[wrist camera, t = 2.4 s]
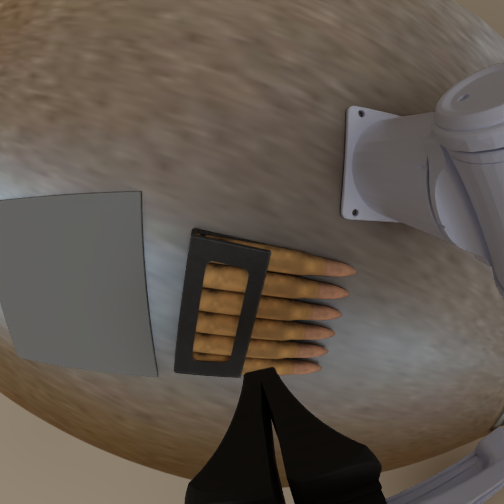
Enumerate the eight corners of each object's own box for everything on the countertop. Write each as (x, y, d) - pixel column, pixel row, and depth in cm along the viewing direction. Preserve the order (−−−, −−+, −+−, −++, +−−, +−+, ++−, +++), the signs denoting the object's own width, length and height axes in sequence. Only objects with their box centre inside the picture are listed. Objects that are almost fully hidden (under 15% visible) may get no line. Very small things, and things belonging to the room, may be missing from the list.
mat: (141, 191, 19) (140, 191, 18) (158, 374, 23) (157, 377, 23) (-15, 202, 17) (-17, 202, 17) (19, 355, 21) (18, 357, 21)
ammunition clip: (175, 358, 22) (314, 369, 25) (173, 373, 21) (321, 383, 23) (192, 227, 20) (354, 256, 22) (191, 234, 18) (365, 264, 20)
